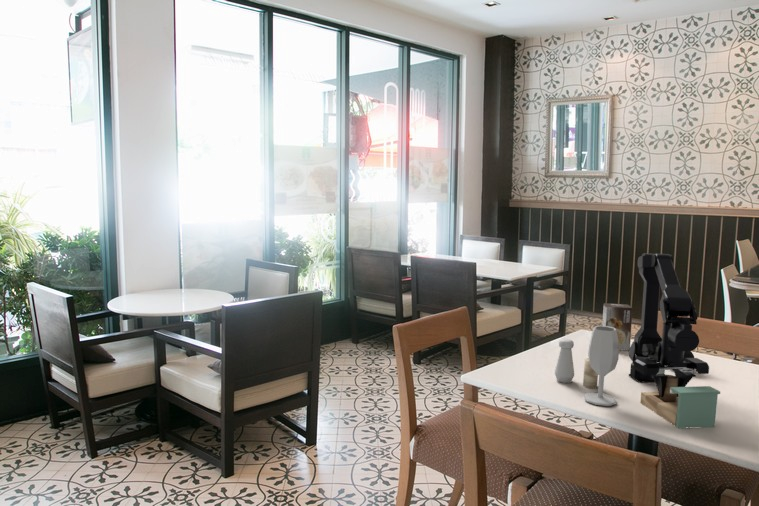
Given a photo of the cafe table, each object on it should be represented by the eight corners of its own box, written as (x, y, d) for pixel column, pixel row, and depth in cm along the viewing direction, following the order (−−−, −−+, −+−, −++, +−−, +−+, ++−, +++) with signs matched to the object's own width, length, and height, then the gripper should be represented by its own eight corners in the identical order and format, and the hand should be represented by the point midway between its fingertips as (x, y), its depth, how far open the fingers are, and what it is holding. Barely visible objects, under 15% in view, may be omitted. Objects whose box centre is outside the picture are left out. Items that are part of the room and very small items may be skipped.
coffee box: (626, 346, 227) (629, 304, 225) (630, 351, 220) (633, 307, 218) (600, 344, 228) (603, 302, 226) (603, 349, 222) (606, 306, 220)
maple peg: (593, 383, 184) (594, 358, 183) (599, 388, 181) (601, 362, 180) (580, 383, 184) (582, 358, 183) (586, 388, 180) (588, 362, 179)
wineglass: (612, 409, 164) (618, 334, 161) (580, 402, 169) (585, 329, 166) (619, 399, 171) (624, 327, 169) (587, 393, 176) (592, 322, 173)
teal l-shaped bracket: (706, 420, 158) (709, 386, 156) (716, 427, 154) (720, 391, 152) (667, 422, 156) (670, 387, 155) (676, 428, 152) (679, 392, 151)
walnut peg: (678, 407, 164) (681, 379, 162) (665, 408, 163) (667, 379, 162) (670, 402, 167) (672, 374, 166) (656, 402, 167) (658, 374, 166)
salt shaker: (574, 384, 183) (577, 343, 181) (555, 383, 184) (557, 341, 182) (572, 378, 189) (575, 338, 187) (553, 376, 190) (556, 336, 188)
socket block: (673, 401, 171) (674, 391, 170) (711, 424, 155) (712, 413, 155) (640, 402, 170) (641, 392, 169) (674, 426, 154) (675, 414, 153)
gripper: (686, 332, 172) (682, 385, 174) (625, 333, 170) (621, 387, 172) (713, 343, 161) (707, 399, 163) (647, 344, 159) (642, 401, 161)
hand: (668, 396), depth 165 cm, fingers closed on walnut peg, 4 cm apart
